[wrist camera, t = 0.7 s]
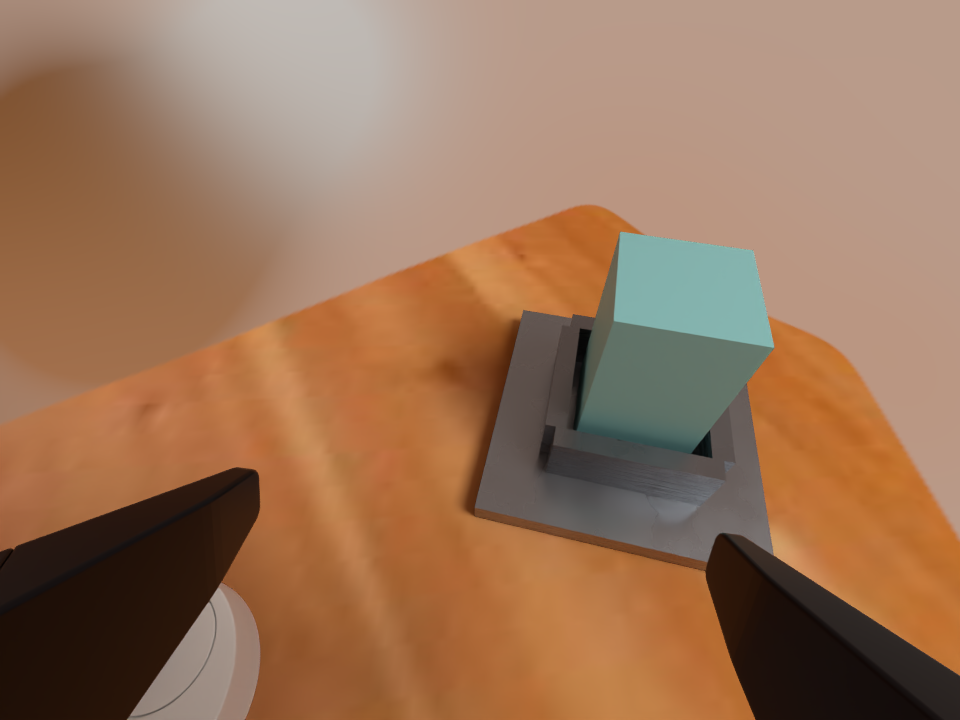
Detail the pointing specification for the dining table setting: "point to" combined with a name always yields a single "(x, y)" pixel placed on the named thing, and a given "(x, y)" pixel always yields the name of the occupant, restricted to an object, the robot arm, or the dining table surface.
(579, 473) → the socket holder
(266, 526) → the dining table surface
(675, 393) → the teal block
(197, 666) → the wall hook
